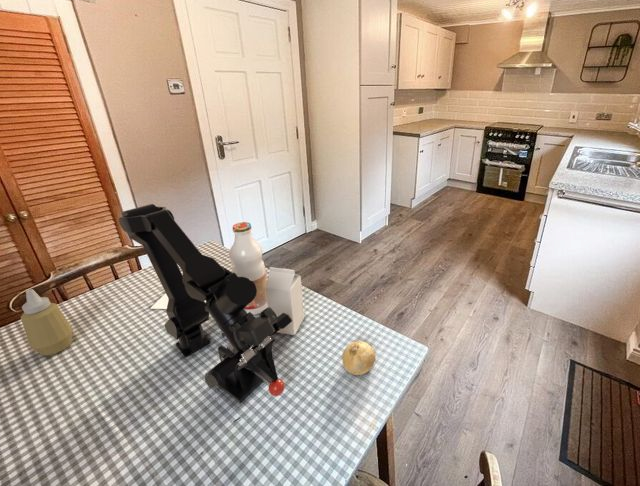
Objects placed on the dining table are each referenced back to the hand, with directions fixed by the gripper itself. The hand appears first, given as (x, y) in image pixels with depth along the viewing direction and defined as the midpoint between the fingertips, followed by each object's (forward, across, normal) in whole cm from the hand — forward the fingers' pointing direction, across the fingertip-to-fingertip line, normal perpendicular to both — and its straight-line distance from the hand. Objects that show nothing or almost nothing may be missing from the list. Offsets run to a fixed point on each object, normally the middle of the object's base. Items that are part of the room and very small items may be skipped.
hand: (275, 380), depth 62 cm
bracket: (-4, 0, +14) cm, 15 cm away
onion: (+12, +17, -1) cm, 21 cm away
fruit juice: (-16, +20, +27) cm, 37 cm away
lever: (-3, 0, +6) cm, 7 cm away
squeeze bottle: (-38, -19, +49) cm, 65 cm away
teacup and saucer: (-33, +16, +44) cm, 57 cm away
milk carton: (-6, +19, +17) cm, 26 cm away
